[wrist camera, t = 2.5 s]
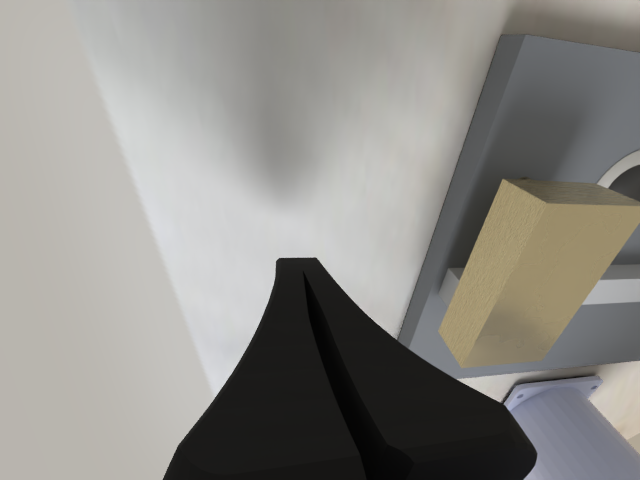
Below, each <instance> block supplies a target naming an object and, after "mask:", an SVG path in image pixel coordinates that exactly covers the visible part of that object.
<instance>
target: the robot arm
mask: <svg viewBox="0 0 640 480" xmlns="http://www.w3.org/2000/svg"><path fill="white" fill-rule="evenodd" d="M602 382H603V380H602V379H601V378H600V377H599V376H590V377H581V378H572V379H562V380H553V381H544V382H535V383H526V384H520V385H518V386H516V387H515V388H514V390H513V391H512V393H511V394H510V395H509V397H508V398H507V400H506V401H505V403H504V404H502V403H500V402H498V401H496V400H494V399H492V398H490V397H488V396H486V395H484V394H482V393H481V392H479V391H477V390H475V389H473V388H471V387H469V386H467V385H465V384H463V383H462V382H460V381H458V380H456V379H455V378H453V377H451V376H450V375H448V374H446V373H445V372H443V371H441V370H440V369H438V368H436V367H435V366H433V365H432V364H430V363H429V362H427V361H426V360H424V359H423V358H421V357H420V356H418V355H417V354H415V353H414V352H412V351H411V350H410V349H408V348H407V347H405V346H404V345H403V344H401V343H400V342H399V341H397V340H396V339H395V338H393V337H392V336H391V335H390V334H388V333H387V332H386V331H385V330H384V329H382V328H381V327H380V326H379V325H378V324H376V323H375V322H374V321H373V320H372V319H371V318H370V317H369V316H368V315H366V314H365V313H364V312H363V311H362V310H361V309H360V308H359V307H358V306H357V305H356V304H355V303H354V301H353V300H352V299H351V298H350V297H349V296H348V295H347V294H346V293H345V292H344V291H343V289H342V288H341V287H340V286H339V285H338V284H337V283H336V281H335V280H334V279H333V278H332V277H331V275H330V274H329V273H328V272H327V270H326V269H325V268H324V267H323V265H322V264H321V263H320V262H319V260H318V259H317V258H279V259H278V260H277V261H276V276H275V282H274V286H273V289H272V292H271V295H270V299H269V302H268V304H267V307H266V309H265V312H264V314H263V317H262V319H261V321H260V324H259V326H258V328H257V330H256V332H255V334H254V336H253V338H252V340H251V342H250V344H249V346H248V347H247V349H246V351H245V353H244V354H243V356H242V358H241V360H240V361H239V363H238V365H237V366H236V368H235V369H234V371H233V373H232V374H231V376H230V377H229V379H228V380H227V381H226V383H225V384H224V386H223V387H222V389H221V390H220V392H219V393H218V395H217V396H216V397H215V399H214V400H213V402H212V403H211V404H210V406H209V407H208V409H207V410H206V411H205V412H204V414H203V415H202V416H201V417H200V419H199V420H198V421H197V423H196V424H195V425H194V426H193V428H192V429H191V430H190V431H189V433H188V434H187V435H186V436H185V438H184V439H183V440H182V441H181V443H180V444H179V445H178V447H177V450H176V452H175V453H174V456H173V458H172V460H171V462H170V464H169V467H168V469H167V471H166V473H165V476H164V478H163V480H640V454H639V453H638V452H637V451H636V450H635V449H634V448H633V447H632V446H631V445H630V444H629V443H628V442H627V441H626V439H625V438H624V437H623V436H622V435H621V434H620V433H619V432H618V431H617V430H616V429H615V428H614V427H613V426H612V424H611V423H610V422H609V421H608V420H607V419H606V418H605V417H604V416H603V415H602V414H601V413H600V412H599V411H598V409H597V408H596V407H595V406H594V405H593V404H592V403H591V402H590V401H589V400H588V398H589V397H590V396H591V395H592V393H593V392H594V391H595V390H596V389H597V388H598V387H599V386H600V385H601V384H602Z"/></svg>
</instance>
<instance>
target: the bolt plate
mask: <svg viewBox="0 0 640 480" xmlns="http://www.w3.org/2000/svg"><path fill="white" fill-rule="evenodd" d="M521 177H529V178H531V179H533V180H538V181H559V182H580V183H596V184H598V185H601V186H603V187H605V188H608V189H610V190H613V191H615V192H617V193H620V194H622V195H625V196H627V197H629V198H632V199H634V200H637V201H639V202H640V53H639V52H633V51H627V50H620V49H614V48H608V47H602V46H595V45H589V44H583V43H577V42H570V41H564V40H558V39H552V38H545V37H539V36H533V35H527V34H520V35H501V37H500V40H499V43H498V46H497V49H496V52H495V55H494V58H493V61H492V64H491V67H490V70H489V72H488V75H487V78H486V81H485V84H484V87H483V90H482V93H481V96H480V99H479V102H478V105H477V108H476V111H475V114H474V117H473V120H472V123H471V126H470V129H469V131H468V134H467V137H466V140H465V143H464V146H463V149H462V152H461V155H460V158H459V161H458V164H457V167H456V170H455V173H454V176H453V179H452V182H451V185H450V187H449V190H448V193H447V196H446V199H445V202H444V205H443V208H442V211H441V214H440V217H439V220H438V223H437V226H436V229H435V232H434V235H433V238H432V241H431V244H430V246H429V249H428V252H427V255H426V258H425V261H424V264H423V267H422V270H421V273H420V276H419V279H418V282H417V285H416V288H415V291H414V294H413V297H412V300H411V302H410V305H409V308H408V311H407V314H406V317H405V320H404V323H403V326H402V329H401V332H400V335H399V338H398V341H399V342H400V343H401V344H403V345H404V346H405V347H407V348H408V349H410V350H411V351H412V352H414V353H415V354H417V355H418V356H420V357H421V358H423V359H424V360H426V361H427V362H429V363H430V364H432V365H433V366H435V367H436V368H438V369H440V370H441V371H443V372H445V373H446V374H448V375H450V376H451V377H453V378H455V379H461V378H471V377H481V376H491V375H501V374H511V373H521V372H531V371H541V370H551V369H561V368H571V367H581V366H590V365H600V364H610V363H620V362H630V361H640V223H639V224H638V226H637V227H636V229H635V230H634V232H633V233H632V234H631V236H630V237H629V239H628V240H627V241H626V243H625V244H624V246H623V247H622V248H621V250H620V251H619V253H618V254H617V256H616V257H615V258H614V260H613V261H612V263H611V264H610V265H609V267H608V268H607V270H606V271H605V272H604V274H603V275H602V277H601V278H600V279H599V281H598V282H597V284H596V285H595V287H594V288H593V289H592V291H591V292H590V294H589V295H588V296H587V298H586V299H585V301H584V302H583V303H582V305H581V306H580V308H579V309H578V311H577V312H576V313H575V315H574V316H573V318H572V319H571V320H570V322H569V323H568V325H567V326H566V327H565V329H564V330H563V332H562V333H561V334H560V336H559V337H558V339H557V340H556V342H555V343H554V344H553V346H552V347H551V349H550V350H549V351H548V353H547V354H546V356H545V357H544V358H543V360H542V361H534V362H523V363H512V364H502V365H491V366H480V367H470V368H461V367H460V365H459V364H458V362H457V360H456V359H455V357H454V356H453V354H452V353H451V351H450V349H449V348H448V346H447V345H446V343H445V342H444V340H443V338H442V337H441V335H440V334H439V332H438V330H439V328H440V326H441V323H442V321H443V319H444V316H445V314H446V312H447V309H448V307H449V304H450V302H451V300H452V297H453V295H454V293H455V290H456V288H457V286H458V283H459V281H460V279H461V276H462V274H463V271H464V269H465V267H466V264H467V262H468V260H469V257H470V255H471V253H472V250H473V248H474V246H475V243H476V241H477V238H478V236H479V234H480V231H481V229H482V227H483V224H484V222H485V220H486V217H487V215H488V213H489V210H490V208H491V206H492V203H493V201H494V198H495V196H496V194H497V191H498V189H499V187H500V184H501V182H502V180H503V179H519V178H521Z"/></svg>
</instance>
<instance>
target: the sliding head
mask: <svg viewBox="0 0 640 480" xmlns="http://www.w3.org/2000/svg"><path fill="white" fill-rule="evenodd" d="M639 223H640V202H639V201H637V200H634V199H632V198H629V197H627V196H625V195H622V194H620V193H617V192H615V191H613V190H610V189H608V188H605V187H603V186H601V185H598V184H596V183H580V182H559V181H538V180H533V179H531V178H529V177H521V178H519V179H503V180H502V182H501V184H500V187H499V189H498V191H497V194H496V196H495V198H494V201H493V203H492V206H491V208H490V210H489V213H488V215H487V217H486V220H485V222H484V224H483V227H482V229H481V231H480V234H479V236H478V238H477V241H476V243H475V246H474V248H473V250H472V253H471V255H470V257H469V260H468V262H467V264H466V267H465V269H464V271H463V274H462V276H461V279H460V281H459V283H458V286H457V288H456V290H455V293H454V295H453V297H452V300H451V302H450V304H449V307H448V309H447V312H446V314H445V316H444V319H443V321H442V323H441V326H440V328H439V330H438V332H439V334H440V335H441V337H442V338H443V340H444V342H445V343H446V345H447V346H448V348H449V349H450V351H451V353H452V354H453V356H454V357H455V359H456V360H457V362H458V364H459V365H460V367H461V368H470V367H480V366H491V365H502V364H512V363H523V362H534V361H542V360H543V358H544V357H545V356H546V354H547V353H548V351H549V350H550V349H551V347H552V346H553V344H554V343H555V342H556V340H557V339H558V337H559V336H560V334H561V333H562V332H563V330H564V329H565V327H566V326H567V325H568V323H569V322H570V320H571V319H572V318H573V316H574V315H575V313H576V312H577V311H578V309H579V308H580V306H581V305H582V303H583V302H584V301H585V299H586V298H587V296H588V295H589V294H590V292H591V291H592V289H593V288H594V287H595V285H596V284H597V282H598V281H599V279H600V278H601V277H602V275H603V274H604V272H605V271H606V270H607V268H608V267H609V265H610V264H611V263H612V261H613V260H614V258H615V257H616V256H617V254H618V253H619V251H620V250H621V248H622V247H623V246H624V244H625V243H626V241H627V240H628V239H629V237H630V236H631V234H632V233H633V232H634V230H635V229H636V227H637V226H638V224H639Z"/></svg>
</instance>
